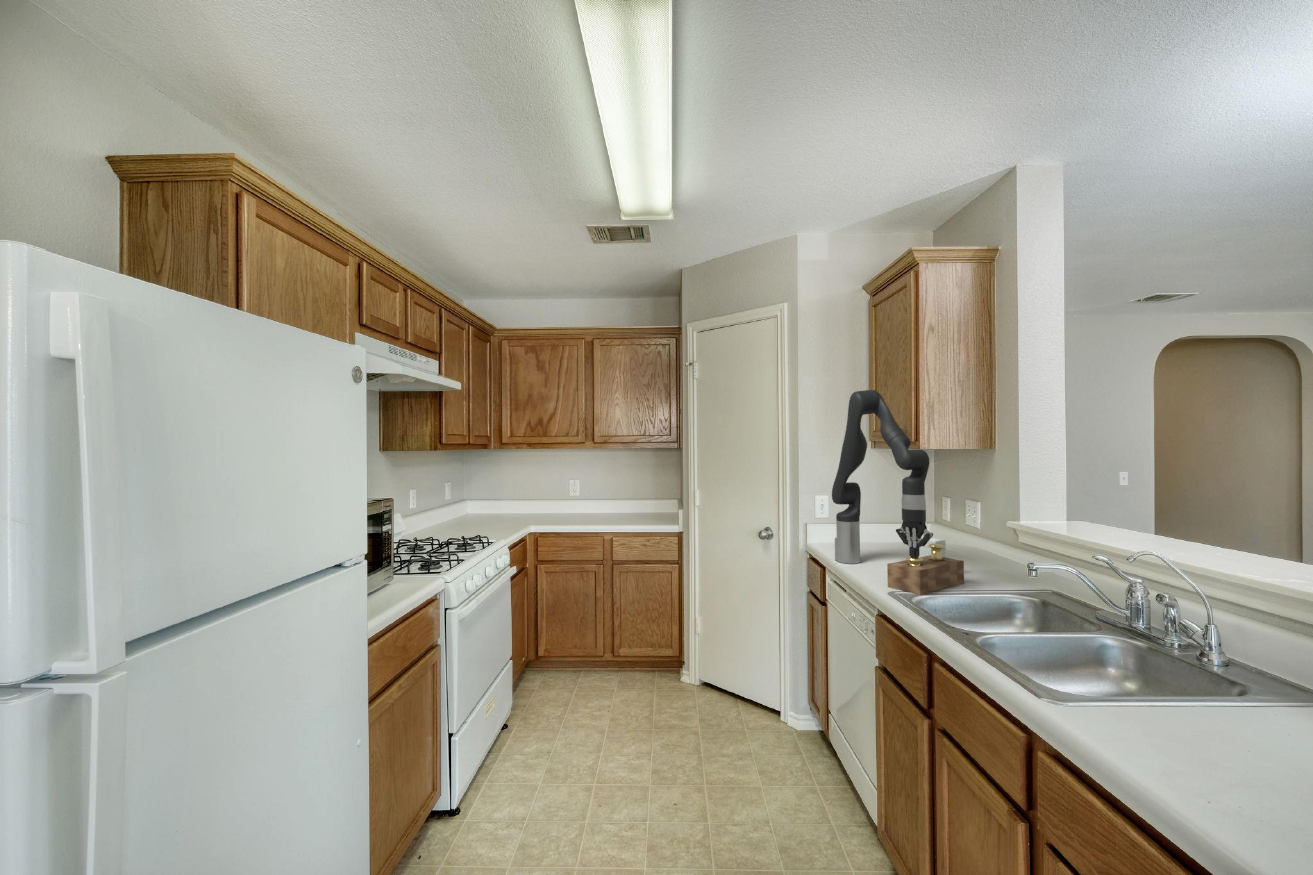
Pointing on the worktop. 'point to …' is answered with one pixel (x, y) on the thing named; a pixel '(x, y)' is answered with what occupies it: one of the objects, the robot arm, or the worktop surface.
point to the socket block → (925, 575)
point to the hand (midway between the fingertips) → (914, 558)
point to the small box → (927, 550)
